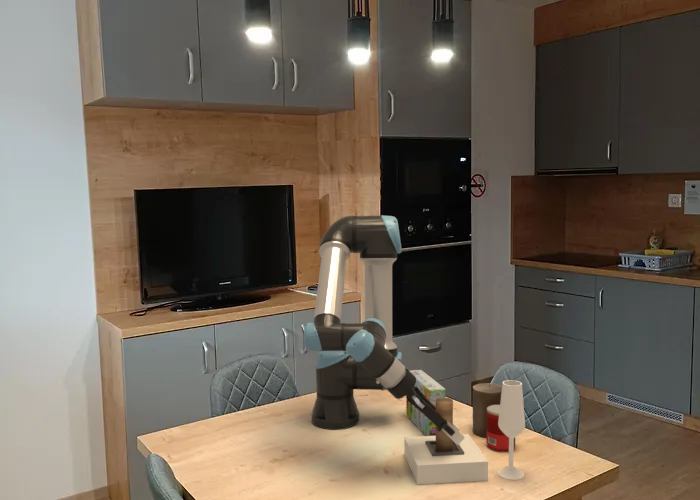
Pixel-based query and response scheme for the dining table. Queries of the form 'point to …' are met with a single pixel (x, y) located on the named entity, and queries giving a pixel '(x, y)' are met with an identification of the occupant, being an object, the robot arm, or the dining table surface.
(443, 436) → the peg
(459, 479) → the socket block
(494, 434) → the canned food
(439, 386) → the snack box
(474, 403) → the pillar candle
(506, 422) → the champagne flute
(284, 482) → the dining table surface
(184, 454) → the dining table surface
